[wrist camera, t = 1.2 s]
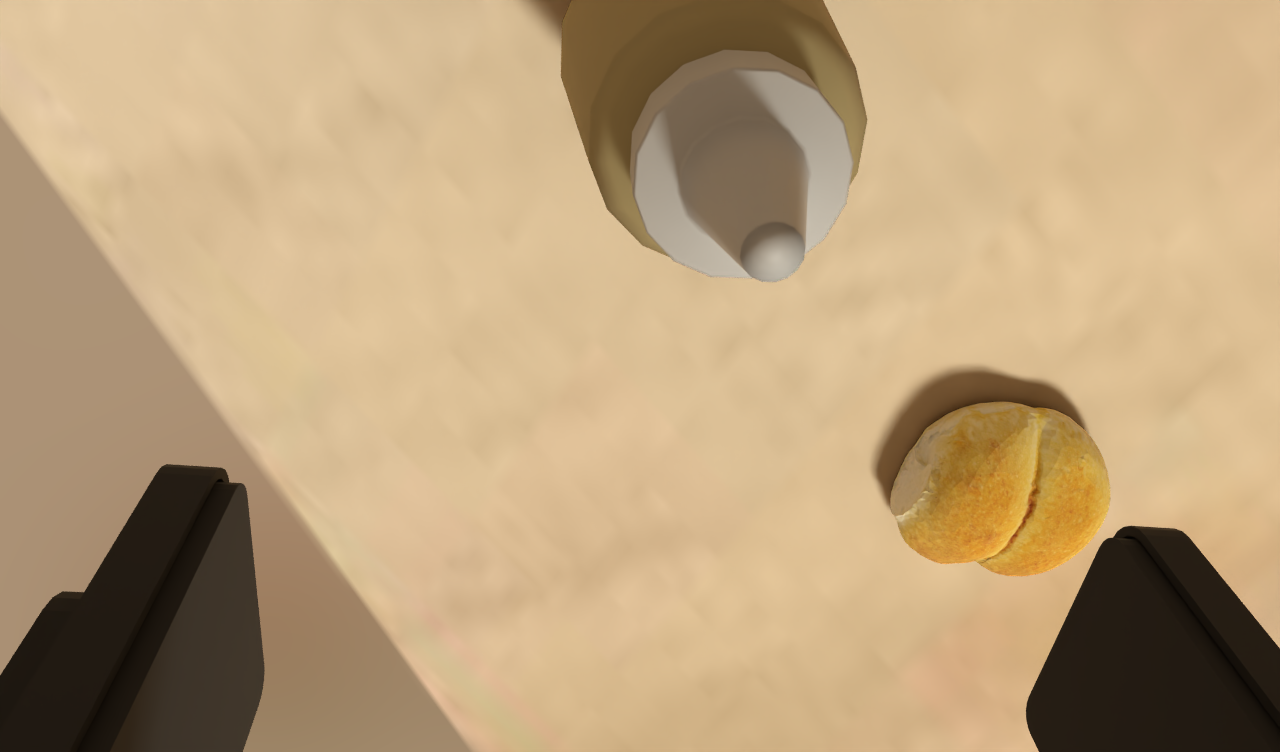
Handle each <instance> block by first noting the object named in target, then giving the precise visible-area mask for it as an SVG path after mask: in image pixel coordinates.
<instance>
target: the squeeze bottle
mask: <svg viewBox="0 0 1280 752" xmlns="http://www.w3.org/2000/svg"><path fill="white" fill-rule="evenodd" d="M561 78H562V81H563V84H564V87H565V90H566V93H567V96H568V99H569V102H570V105H571V109H572V112H573V115H574V118H575V121H576V124H577V127H578V130H579V133H580V136H581V139H582V142H583V145H584V148H585V151H586V154H587V157H588V160H589V163H590V166H591V168H592V171H593V174H594V176H595V179H596V181H597V184H598V186H599V189H600V192H601V194H602V197H603V199H604V202H605V205H606V207H607V209H608V211H609V212H610V213H611V214H612V215H613V216H614V217H615V218H616V219H617V220H618V221H619V222H620V223H621V224H622V225H623V226H624V227H625V228H626V229H627V230H628V231H629V232H630V233H631V234H632V235H633V236H634V237H635V238H636V239H637V240H638V241H639V242H640V243H641V244H642V245H643V246H645V247H647V248H650V249H652V250H654V251H657V252H659V253H661V254H664V255H666V256H668V257H670V258H671V259H672V260H673V261H675V262H677V263H679V264H682V265H684V266H686V267H689V268H691V269H693V270H695V271H698V272H700V273H702V274H705V275H707V276H709V277H726V278H755V279H757V280H760V281H762V282H776V281H780V280H783V279H786V278H788V277H789V276H790V275H792V274H793V273H794V272H795V271H797V270H798V268H799V266H800V265H801V263H802V261H803V260H804V255H805V254H806V253H807V252H809V251H810V250H811V249H812V248H814V247H815V246H816V245H818V244H819V243H820V242H821V241H823V240H824V239H825V237H826V236H827V234H828V232H829V231H830V229H831V227H832V226H833V224H834V223H835V221H836V219H837V218H838V216H839V215H840V213H841V211H842V210H843V208H844V207H845V205H846V203H847V197H848V192H849V186H850V184H851V182H852V181H853V179H854V177H855V176H856V174H857V173H858V167H859V162H860V156H861V151H862V145H863V140H864V134H865V129H866V124H867V116H866V112H865V107H864V103H863V98H862V94H861V89H860V85H859V80H858V76H857V71H856V67H855V65H854V63H853V61H852V59H851V57H850V55H849V53H848V51H847V49H846V46H845V44H844V42H843V40H842V38H841V36H840V34H839V32H838V30H837V28H836V26H835V24H834V22H833V20H832V18H831V16H830V14H829V12H828V10H827V8H826V6H825V4H824V1H823V0H571V2H570V5H569V7H568V9H567V12H566V14H565V16H564V19H563V21H562V50H561Z"/></svg>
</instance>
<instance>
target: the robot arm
mask: <svg viewBox="0 0 1280 752" xmlns="http://www.w3.org/2000/svg"><path fill="white" fill-rule="evenodd" d="M262 649H263V648H262V638H261V628H260V618H259V608H258V599H257V589H256V578H255V568H254V558H253V549H252V538H251V528H250V518H249V508H248V498H247V491H246V488H245V486H244V485H243V484H242V483H229V478H228V475H227V472H226V470H225V469H223V468H217V467H201V466H184V465H168V464H166V465H164V466H162V467H161V468H160V469H159V471H158V472H157V473H156V475H155V476H154V478H153V480H152V481H151V483H150V485H149V486H148V488H147V490H146V491H145V493H144V495H143V496H142V498H141V499H140V501H139V503H138V505H137V506H136V508H135V510H134V511H133V513H132V514H131V516H130V518H129V519H128V521H127V523H126V525H125V526H124V528H123V529H122V531H121V532H120V534H119V536H118V537H117V539H116V541H115V542H114V544H113V546H112V548H111V549H110V551H109V552H108V554H107V556H106V557H105V559H104V561H103V562H102V564H101V565H100V567H99V569H98V570H97V572H96V574H95V575H94V577H93V579H92V580H91V582H90V584H89V585H88V587H87V589H86V590H85V592H61V593H59V594H58V595H56V596H54V597H53V598H52V599H51V600H50V601H49V603H48V604H47V605H46V607H45V608H44V609H43V610H42V612H41V613H40V615H39V616H38V618H37V619H36V621H35V622H34V624H33V625H32V627H31V629H30V630H29V632H28V633H27V635H26V636H25V638H24V639H23V641H22V643H21V644H20V646H19V647H18V649H17V650H16V652H15V654H14V655H13V657H12V658H11V660H10V661H9V663H8V664H7V666H6V668H5V669H4V670H3V672H2V674H1V675H0V752H243V749H244V746H245V743H246V740H247V737H248V735H249V732H250V729H251V726H252V723H253V720H254V717H255V714H256V711H257V708H258V705H259V702H260V699H261V694H262V689H263V682H264V658H263V650H262ZM1026 719H1027V724H1028V728H1029V731H1030V734H1031V736H1032V738H1033V740H1034V742H1035V744H1036V746H1037V748H1038V751H1039V752H1280V648H1279V647H1278V646H1277V645H1276V643H1275V642H1274V641H1273V640H1272V638H1271V637H1270V636H1269V635H1268V634H1267V632H1266V631H1265V630H1264V629H1263V627H1262V626H1261V625H1260V624H1259V622H1258V621H1257V620H1256V619H1255V618H1254V616H1253V615H1252V614H1251V613H1250V611H1249V610H1248V609H1247V608H1246V607H1245V605H1244V604H1243V603H1242V602H1241V600H1240V599H1239V598H1238V597H1237V596H1236V594H1235V593H1234V592H1233V591H1232V589H1231V588H1230V587H1229V586H1228V585H1227V583H1226V582H1225V581H1224V580H1223V578H1222V577H1221V576H1220V575H1219V573H1218V572H1217V571H1216V570H1215V569H1214V567H1213V566H1212V565H1211V564H1210V562H1209V561H1208V560H1207V559H1206V558H1205V556H1204V555H1203V554H1202V553H1201V551H1200V550H1199V549H1198V548H1197V547H1196V545H1195V544H1194V543H1193V542H1192V540H1191V539H1190V538H1189V537H1188V536H1187V535H1186V534H1185V533H1183V532H1182V531H1180V530H1177V529H1171V528H1156V527H1140V526H1127V527H1123V528H1122V529H1120V530H1119V531H1117V533H1116V534H1115V536H1114V537H1113V538H1108V539H1106V540H1105V541H1104V542H1103V543H1102V544H1101V546H1100V547H1099V550H1098V552H1097V554H1096V556H1095V558H1094V560H1093V562H1092V564H1091V567H1090V569H1089V571H1088V573H1087V575H1086V577H1085V579H1084V581H1083V583H1082V586H1081V588H1080V590H1079V592H1078V594H1077V596H1076V598H1075V600H1074V603H1073V605H1072V607H1071V609H1070V611H1069V613H1068V615H1067V617H1066V619H1065V622H1064V624H1063V626H1062V628H1061V630H1060V632H1059V634H1058V636H1057V638H1056V641H1055V643H1054V645H1053V647H1052V649H1051V651H1050V653H1049V655H1048V658H1047V660H1046V662H1045V664H1044V666H1043V668H1042V670H1041V672H1040V674H1039V677H1038V679H1037V681H1036V683H1035V685H1034V687H1033V689H1032V691H1031V694H1030V696H1029V698H1028V701H1027V707H1026Z"/></svg>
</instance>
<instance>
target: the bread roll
mask: <svg viewBox="0 0 1280 752" xmlns="http://www.w3.org/2000/svg"><path fill="white" fill-rule="evenodd" d="M1109 503H1110V484H1109V479H1108V473H1107V469H1106V466H1105V462H1104V459H1103V457H1102V455H1101V453H1100V451H1099V449H1098V447H1097V446H1096V444H1095V442H1094V441H1093V439H1092V438H1091V437H1090V436H1089V434H1088V433H1087V432H1086V431H1085V430H1084V429H1083V428H1082V427H1081V426H1079V425H1078V424H1077V423H1076V422H1074V421H1073V420H1072V419H1071V418H1070V417H1069V416H1066V415H1065V414H1062V413H1060V412H1058V411H1056V410H1053V409H1049V408H1032V407H1029V406H1026V405H1023V404H1017V403H1013V402H990V403H978V404H974V405H970V406H967V407H963V408H960V409H958V410H955V411H953V412H950V413H948V414H946V415H945V416H943V417H942V418H941V419H939V420H937V421H936V422H934V423H933V424H932V425H930V426H929V427H927V428H926V429H925V431H924V432H923V434H922V435H921V437H920V438H919V440H918V441H917V443H916V444H915V446H914V447H913V448H912V449H911V450H910V451H909V452H908V454H907V456H906V457H905V459H904V462H903V464H902V466H901V468H900V470H899V473H898V475H897V477H896V479H895V482H894V485H893V489H892V491H891V498H890V508H891V511H892V514H893V515H894V516H895V518H896V520H897V523H898V527H899V530H900V533H901V535H902V537H903V539H904V540H905V542H906V543H907V544H908V545H909V546H910V547H911V548H912V549H913V550H915V551H916V552H917V553H919V554H920V555H922V556H924V557H926V558H928V559H930V560H932V561H934V562H937V563H941V564H951V563H967V562H972V561H976V562H978V563H979V564H980V565H981V566H983V567H985V568H986V569H988V570H990V571H992V572H994V573H997V574H1002V575H1006V576H1028V575H1034V574H1039V573H1043V572H1046V571H1049V570H1051V569H1053V568H1055V567H1057V566H1059V565H1061V564H1063V563H1065V562H1066V561H1068V560H1069V559H1071V558H1072V557H1073V556H1075V555H1076V554H1077V553H1078V552H1080V551H1081V550H1082V549H1083V548H1084V547H1085V546H1086V545H1087V544H1088V543H1089V542H1090V541H1091V540H1092V538H1093V537H1094V535H1095V534H1096V533H1097V531H1098V530H1099V528H1100V527H1101V525H1102V524H1103V521H1104V519H1105V517H1106V514H1107V512H1108V508H1109Z"/></svg>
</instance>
